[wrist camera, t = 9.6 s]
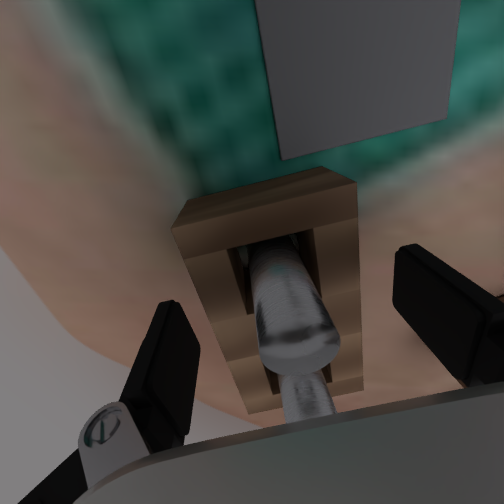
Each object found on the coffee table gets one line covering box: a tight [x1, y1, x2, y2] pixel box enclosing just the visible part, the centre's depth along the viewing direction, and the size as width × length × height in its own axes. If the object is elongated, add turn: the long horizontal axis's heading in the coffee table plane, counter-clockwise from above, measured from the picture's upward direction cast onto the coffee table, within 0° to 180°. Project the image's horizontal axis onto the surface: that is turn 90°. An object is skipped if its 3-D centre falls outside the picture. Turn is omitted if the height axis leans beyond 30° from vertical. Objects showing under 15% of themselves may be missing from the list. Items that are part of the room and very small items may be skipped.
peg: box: [247, 234, 341, 376], centre depth 13 cm, size 3×3×10 cm
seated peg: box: [277, 369, 337, 424], centre depth 17 cm, size 3×3×10 cm
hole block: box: [171, 166, 364, 414], centre depth 17 cm, size 16×9×5 cm, turn 13°
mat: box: [254, 0, 461, 161], centre depth 13 cm, size 10×10×1 cm
